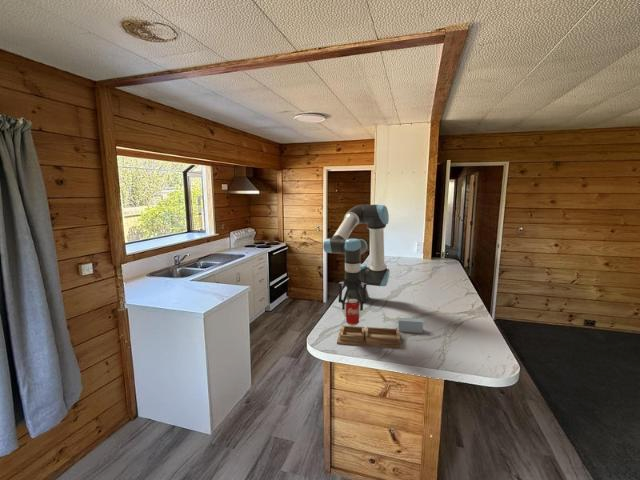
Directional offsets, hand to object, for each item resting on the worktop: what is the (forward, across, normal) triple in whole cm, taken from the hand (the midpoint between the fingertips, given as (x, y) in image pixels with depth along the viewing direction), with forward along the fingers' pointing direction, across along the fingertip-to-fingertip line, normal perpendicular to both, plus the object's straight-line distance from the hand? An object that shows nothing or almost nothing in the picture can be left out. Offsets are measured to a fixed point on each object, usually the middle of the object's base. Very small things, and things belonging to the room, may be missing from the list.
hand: (352, 316), depth 155 cm
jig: (+12, +8, 0) cm, 14 cm away
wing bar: (+12, +29, +13) cm, 34 cm away
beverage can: (+4, 0, 0) cm, 4 cm away
